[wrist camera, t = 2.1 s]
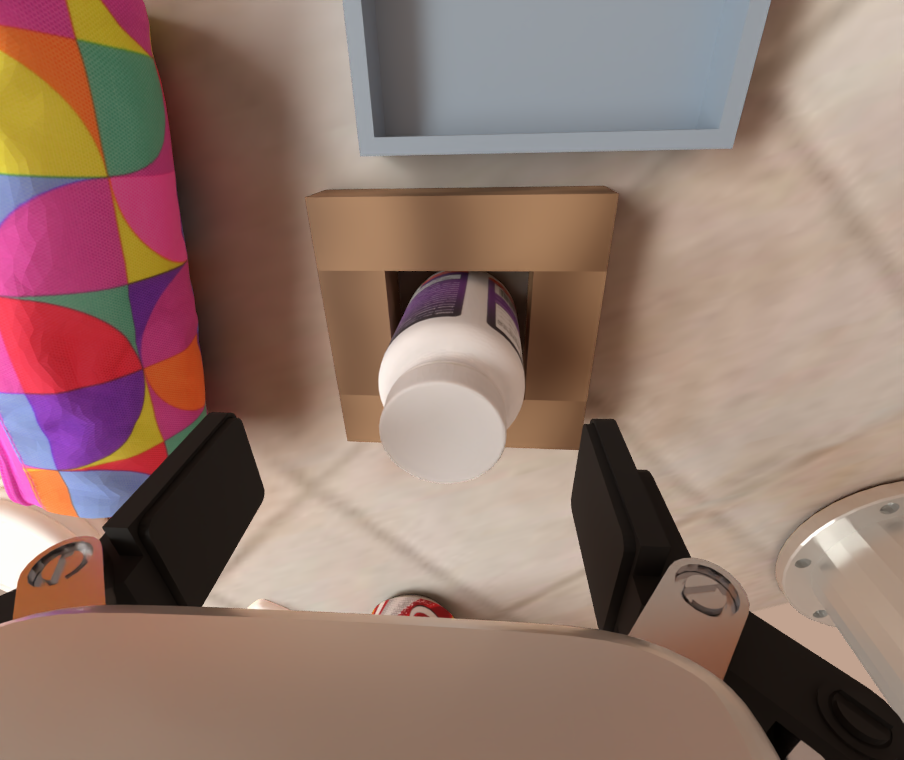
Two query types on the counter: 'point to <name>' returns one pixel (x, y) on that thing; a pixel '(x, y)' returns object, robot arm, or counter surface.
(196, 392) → the pencil case
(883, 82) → the counter surface
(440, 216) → the socket block
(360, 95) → the tray
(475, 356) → the pill bottle
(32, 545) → the coaster
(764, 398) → the counter surface
